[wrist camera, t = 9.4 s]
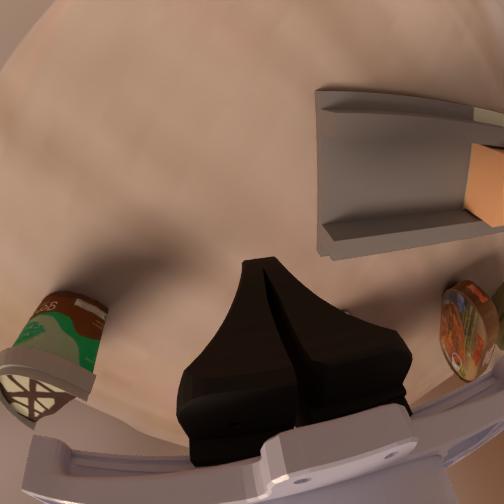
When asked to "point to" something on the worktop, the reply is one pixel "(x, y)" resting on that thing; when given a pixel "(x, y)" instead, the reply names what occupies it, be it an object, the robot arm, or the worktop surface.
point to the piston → (500, 314)
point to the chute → (396, 171)
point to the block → (486, 184)
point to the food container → (52, 357)
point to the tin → (468, 329)
